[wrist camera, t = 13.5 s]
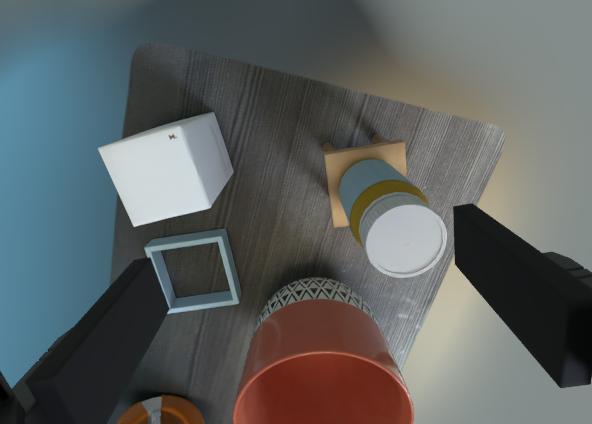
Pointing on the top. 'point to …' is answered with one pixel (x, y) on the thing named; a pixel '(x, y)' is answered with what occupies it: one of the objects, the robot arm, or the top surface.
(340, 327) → the planter
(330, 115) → the top surface
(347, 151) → the stool
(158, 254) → the square tray frame
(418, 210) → the bottle
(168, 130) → the rectangular carton
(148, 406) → the coil
